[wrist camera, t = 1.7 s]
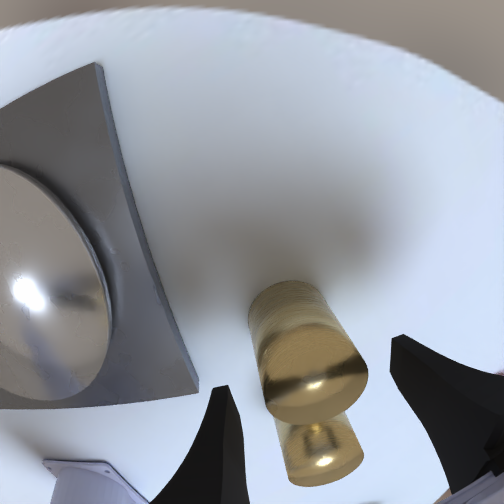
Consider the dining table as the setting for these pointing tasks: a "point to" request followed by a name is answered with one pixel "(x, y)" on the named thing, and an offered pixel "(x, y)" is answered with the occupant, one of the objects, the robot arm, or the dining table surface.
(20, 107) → the scale
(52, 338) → the scale pan
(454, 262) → the dining table surface
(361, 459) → the cylinder
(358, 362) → the cylinder
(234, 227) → the dining table surface
